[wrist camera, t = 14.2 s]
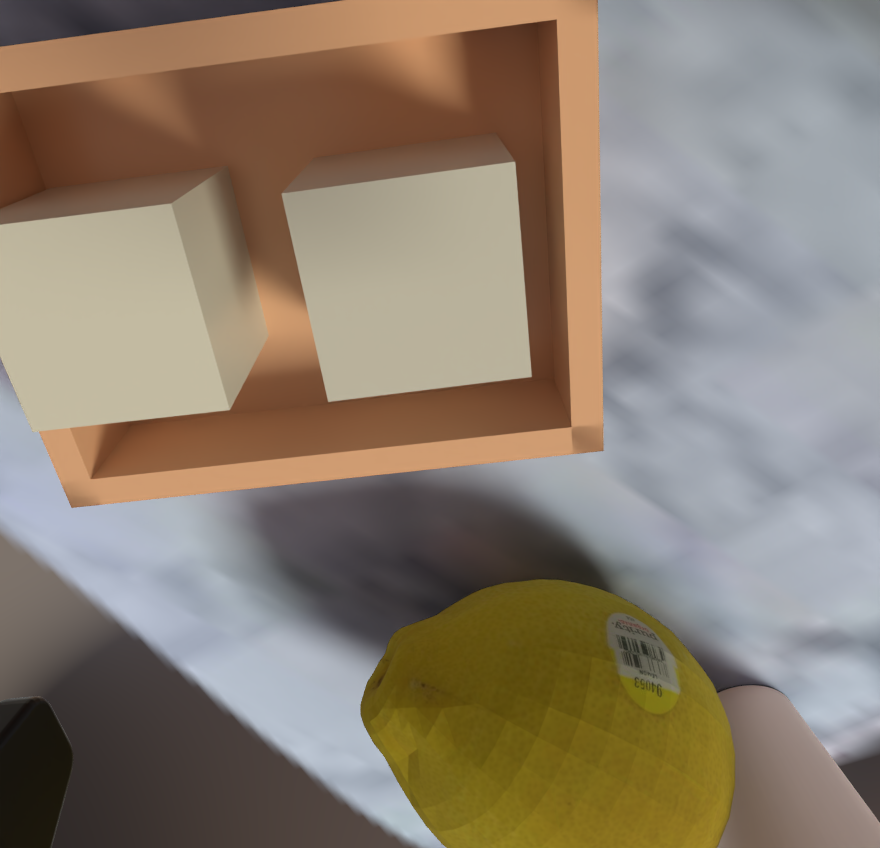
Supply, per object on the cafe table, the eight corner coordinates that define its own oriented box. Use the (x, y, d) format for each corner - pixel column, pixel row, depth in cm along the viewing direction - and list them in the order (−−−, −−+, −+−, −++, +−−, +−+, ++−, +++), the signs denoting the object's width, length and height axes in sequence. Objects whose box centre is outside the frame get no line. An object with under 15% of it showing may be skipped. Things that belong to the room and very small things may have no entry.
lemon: (741, 636, 24) (873, 891, 17) (567, 758, 26) (617, 1022, 19) (499, 445, 20) (537, 666, 13) (326, 608, 23) (282, 864, 16)
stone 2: (496, 132, 16) (515, 161, 12) (510, 308, 18) (531, 376, 14) (313, 158, 16) (281, 193, 12) (347, 328, 18) (328, 402, 14)
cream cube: (227, 165, 16) (171, 203, 13) (268, 335, 18) (229, 410, 14) (50, 187, 16) (-55, 231, 13) (109, 354, 18) (32, 432, 15)
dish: (564, -22, 15) (597, -35, 12) (577, 389, 19) (603, 450, 17) (-21, 57, 16) (-120, 62, 13) (122, 440, 20) (71, 507, 17)
